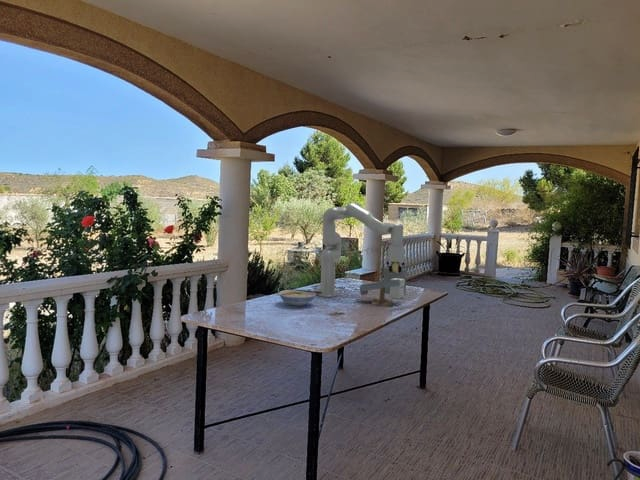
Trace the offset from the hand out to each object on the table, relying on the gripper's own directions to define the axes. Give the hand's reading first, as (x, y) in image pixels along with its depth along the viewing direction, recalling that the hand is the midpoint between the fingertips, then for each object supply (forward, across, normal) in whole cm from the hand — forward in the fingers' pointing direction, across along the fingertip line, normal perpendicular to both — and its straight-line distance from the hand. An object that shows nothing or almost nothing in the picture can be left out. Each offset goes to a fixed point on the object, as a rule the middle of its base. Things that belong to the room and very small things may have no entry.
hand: (395, 272), depth 290 cm
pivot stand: (+20, -7, 0) cm, 21 cm away
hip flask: (+20, 0, +36) cm, 41 cm away
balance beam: (+13, -8, 0) cm, 15 cm away
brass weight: (+1, 0, 0) cm, 1 cm away
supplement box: (+20, +2, +21) cm, 29 cm away
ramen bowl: (+21, -57, -22) cm, 65 cm away
